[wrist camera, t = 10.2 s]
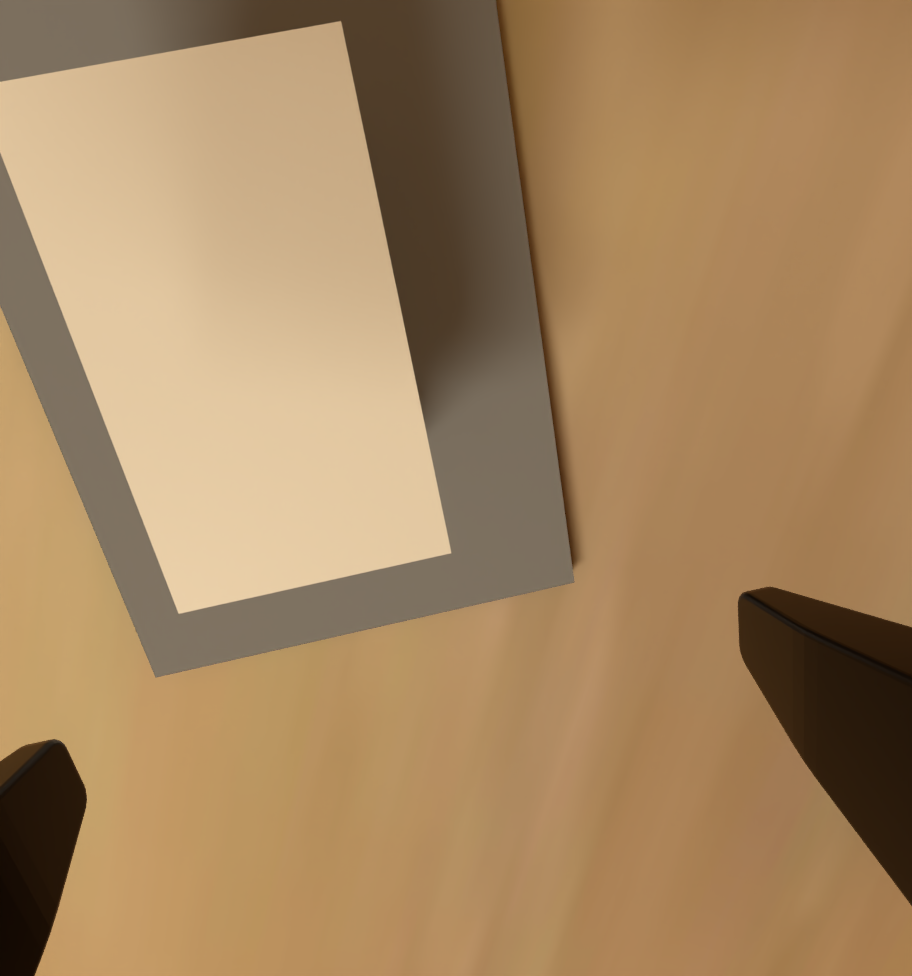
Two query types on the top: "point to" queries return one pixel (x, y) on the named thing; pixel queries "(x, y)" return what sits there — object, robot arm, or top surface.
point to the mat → (422, 296)
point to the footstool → (233, 307)
